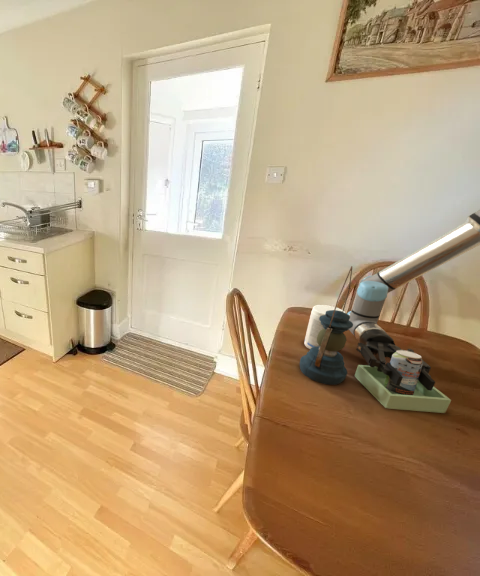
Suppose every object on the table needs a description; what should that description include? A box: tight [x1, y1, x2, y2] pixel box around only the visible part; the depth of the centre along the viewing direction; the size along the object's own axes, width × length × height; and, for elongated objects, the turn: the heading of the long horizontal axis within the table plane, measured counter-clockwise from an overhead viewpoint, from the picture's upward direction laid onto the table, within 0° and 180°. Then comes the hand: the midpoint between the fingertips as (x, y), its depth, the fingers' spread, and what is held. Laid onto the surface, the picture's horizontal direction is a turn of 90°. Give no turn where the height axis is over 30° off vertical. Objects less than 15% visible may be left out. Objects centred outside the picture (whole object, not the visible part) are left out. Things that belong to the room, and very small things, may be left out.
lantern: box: [299, 265, 353, 386], centre depth 90 cm, size 14×12×35 cm
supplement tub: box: [303, 304, 347, 350], centre depth 107 cm, size 10×10×15 cm
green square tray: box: [354, 364, 452, 414], centre depth 87 cm, size 14×14×4 cm
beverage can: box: [384, 349, 424, 395], centre depth 85 cm, size 6×7×12 cm
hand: (415, 383), depth 80 cm, fingers closed on beverage can, 6 cm apart
